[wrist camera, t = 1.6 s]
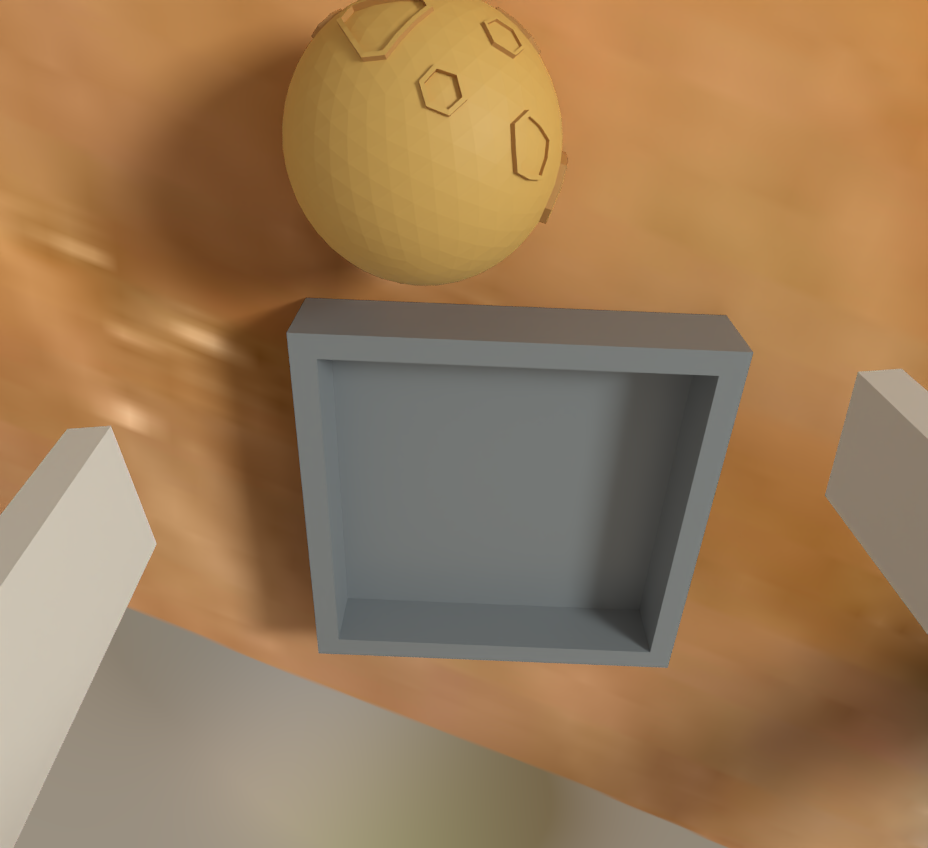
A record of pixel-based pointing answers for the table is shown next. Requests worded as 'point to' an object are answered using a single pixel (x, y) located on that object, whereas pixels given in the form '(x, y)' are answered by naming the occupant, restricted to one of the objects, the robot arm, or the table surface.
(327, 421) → the tray
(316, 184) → the stress ball
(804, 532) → the table surface
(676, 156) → the table surface
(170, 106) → the table surface
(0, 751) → the robot arm
